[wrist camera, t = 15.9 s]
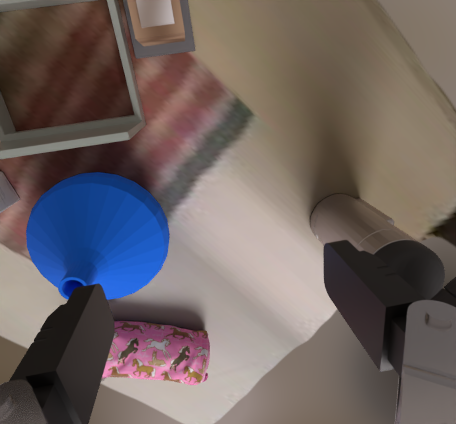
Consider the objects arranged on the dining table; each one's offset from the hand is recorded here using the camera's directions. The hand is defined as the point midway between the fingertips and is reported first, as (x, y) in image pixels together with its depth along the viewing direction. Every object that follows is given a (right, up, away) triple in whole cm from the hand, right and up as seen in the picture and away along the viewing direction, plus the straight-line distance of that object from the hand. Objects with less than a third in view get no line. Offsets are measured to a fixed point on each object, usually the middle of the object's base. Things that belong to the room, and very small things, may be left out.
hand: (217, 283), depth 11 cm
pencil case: (-14, -21, +49) cm, 55 cm away
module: (-8, +27, +29) cm, 40 cm away
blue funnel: (-18, +2, +39) cm, 43 cm away
